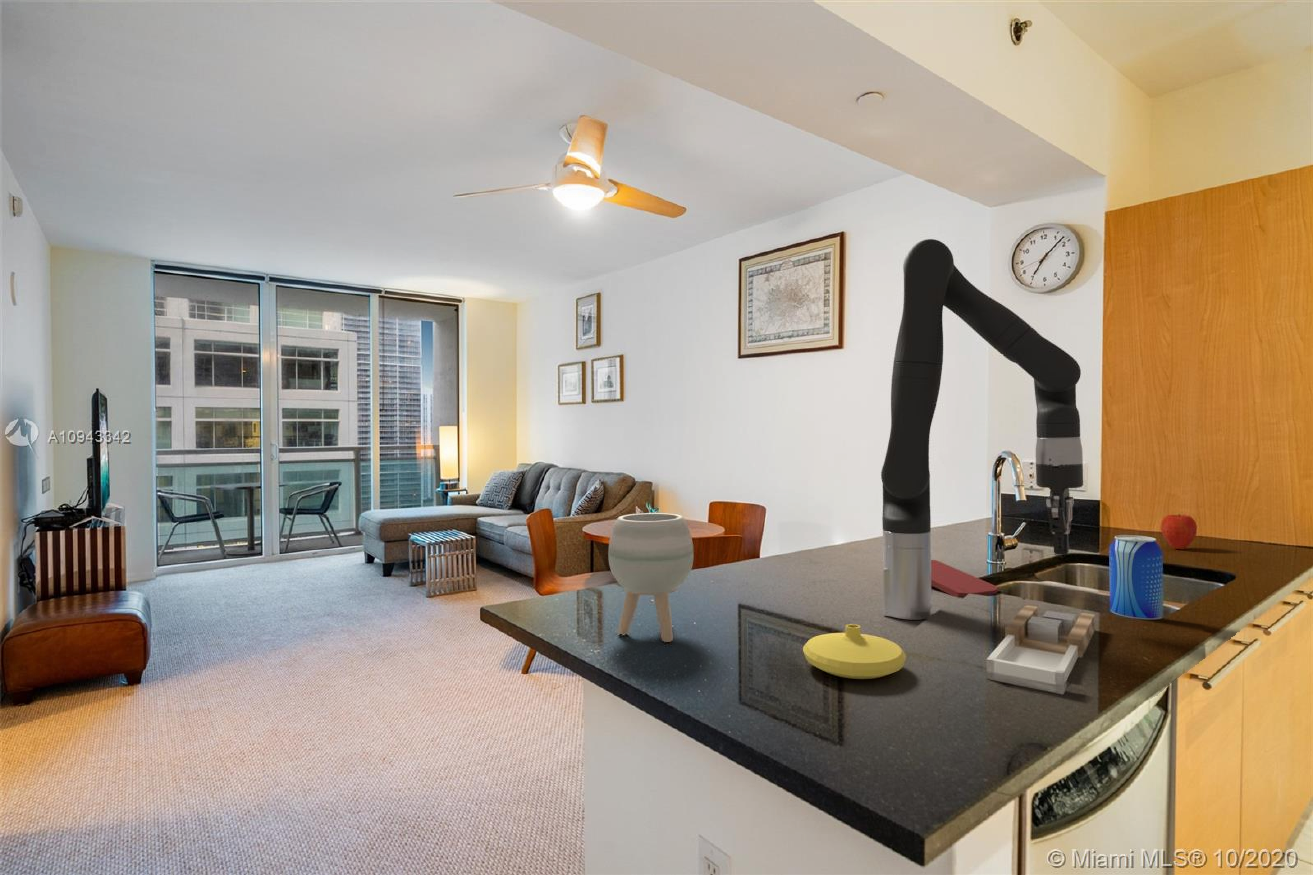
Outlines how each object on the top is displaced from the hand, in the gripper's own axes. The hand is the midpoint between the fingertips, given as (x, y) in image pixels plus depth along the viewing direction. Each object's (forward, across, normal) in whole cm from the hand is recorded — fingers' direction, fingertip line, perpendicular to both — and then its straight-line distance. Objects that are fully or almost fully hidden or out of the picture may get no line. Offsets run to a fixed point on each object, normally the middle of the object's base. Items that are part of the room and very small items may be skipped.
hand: (1061, 553), depth 123 cm
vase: (+14, +43, -23) cm, 51 cm away
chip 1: (+13, +13, -1) cm, 18 cm away
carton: (+15, -24, -29) cm, 40 cm away
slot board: (+14, +11, 0) cm, 18 cm away
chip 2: (+13, +7, 0) cm, 15 cm away
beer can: (+14, -15, +10) cm, 23 cm away
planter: (+13, +48, -60) cm, 78 cm away
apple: (+15, -108, +15) cm, 110 cm away
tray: (+14, +27, 0) cm, 31 cm away
